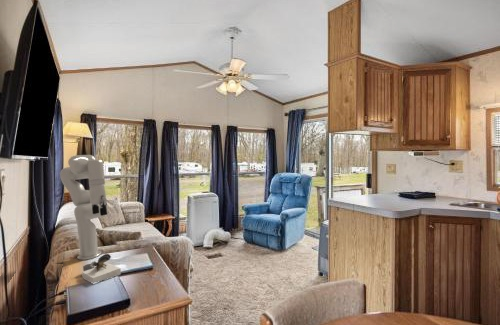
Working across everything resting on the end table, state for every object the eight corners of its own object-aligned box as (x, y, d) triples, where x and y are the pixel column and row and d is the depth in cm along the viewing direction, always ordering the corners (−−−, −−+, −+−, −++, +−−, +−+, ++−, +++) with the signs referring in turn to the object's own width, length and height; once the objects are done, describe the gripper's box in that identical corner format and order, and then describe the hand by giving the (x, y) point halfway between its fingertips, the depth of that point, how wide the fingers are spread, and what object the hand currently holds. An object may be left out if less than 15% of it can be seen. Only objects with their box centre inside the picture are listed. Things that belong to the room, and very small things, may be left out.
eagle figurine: (108, 268, 145) (114, 258, 154) (98, 258, 143) (105, 249, 152) (96, 277, 145) (103, 267, 154) (86, 267, 144) (93, 257, 152)
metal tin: (82, 273, 152) (81, 266, 152) (92, 270, 156) (91, 263, 155) (86, 276, 148) (85, 268, 148) (96, 272, 152) (95, 264, 152)
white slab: (82, 277, 146) (82, 272, 146) (109, 268, 156) (108, 263, 156) (93, 284, 138) (93, 278, 138) (120, 274, 148) (120, 268, 148)
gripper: (83, 183, 161) (85, 214, 162) (96, 184, 150) (99, 217, 151) (97, 181, 167) (100, 211, 168) (111, 182, 156) (114, 214, 157)
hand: (99, 214), depth 160 cm, fingers open, 9 cm apart
